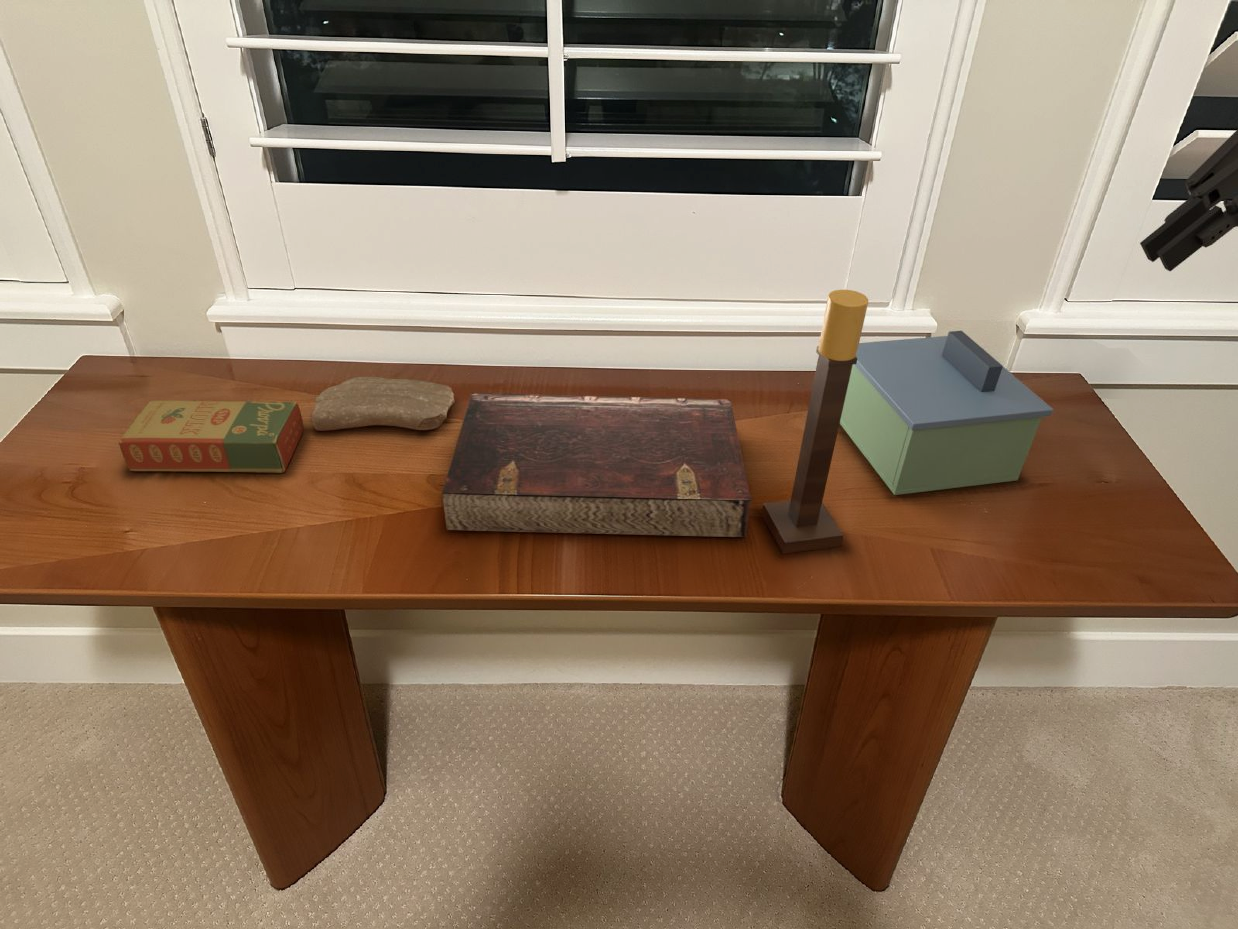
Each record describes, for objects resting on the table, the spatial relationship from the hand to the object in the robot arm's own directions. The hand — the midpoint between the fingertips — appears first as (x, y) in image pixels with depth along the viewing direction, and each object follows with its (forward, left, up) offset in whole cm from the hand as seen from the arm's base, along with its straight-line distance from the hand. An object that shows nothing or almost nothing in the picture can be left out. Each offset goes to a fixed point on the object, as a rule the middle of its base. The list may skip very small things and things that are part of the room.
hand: (1155, 256), depth 85 cm
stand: (+3, +42, -21) cm, 47 cm away
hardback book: (+20, +55, -22) cm, 62 cm away
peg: (+3, +42, -1) cm, 42 cm away
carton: (+45, +88, -22) cm, 101 cm away
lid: (+7, +20, -13) cm, 25 cm away
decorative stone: (+43, +70, -22) cm, 85 cm away
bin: (+7, +20, -21) cm, 30 cm away
